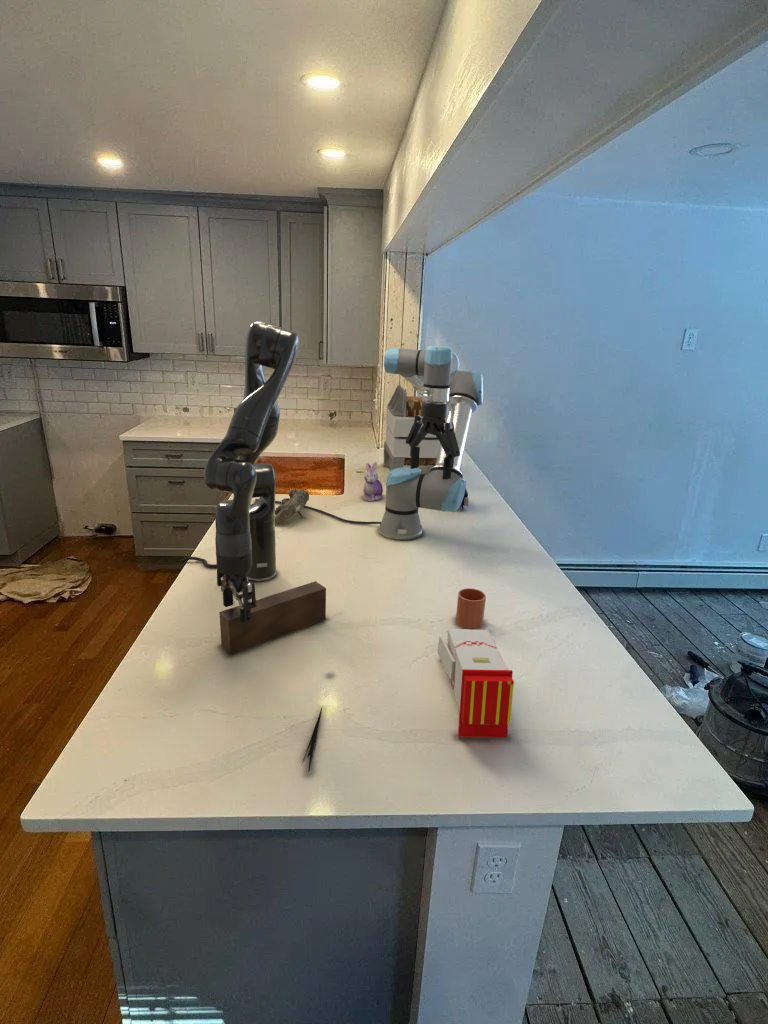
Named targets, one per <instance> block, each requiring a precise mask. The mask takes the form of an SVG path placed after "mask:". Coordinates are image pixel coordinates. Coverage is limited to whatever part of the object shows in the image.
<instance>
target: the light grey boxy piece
mask: <svg viewBox="0 0 768 1024" xmlns="http://www.w3.org/2000/svg"><path fill="white" fill-rule="evenodd" d="M407 394H408V393H407V390H406V389H404V388H403V387H402V385H399V384H398V385H397V386H396V388H395V390H394V392H393V394H392V395H391V398H390V400H389V402H388V404H387V405H386V413H385V414H386V415H385V423H386V428H385V438H384V442H383V466H384V467H388V468H389V472H390V471H391V470H393V469H396V468H401V467H405V466H406V467H411V457H410V449H411V447H410V445H409V444H406V439H407V437H408V435H409V433H410V430H411V428H412V426H413V424H414V419H415V416H417V415H422V403H423V402H424V400H423V396H415V395H414V396H413V395H412V396H411V395H407ZM445 419H446V418H445ZM422 426H423V423H422V425H421V427H422ZM420 429H421V428H420ZM419 431H420V430H419ZM418 433H419V432H418ZM441 433H442V432H441ZM439 446H440V441H439V439H438V438H437V437H436V435H432V434H427V435H426V436H425V437H424V438H423V440H422V441H421V442H420V443H419V446H417V447H420V452H419V467H434V466H435V465H436V460H437V456H438V451H439ZM460 471H461V472H462V465H461V466H460Z"/></svg>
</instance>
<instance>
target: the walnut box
mask: <svg viewBox="0 0 768 1024" xmlns="http://www.w3.org/2000/svg"><path fill="white" fill-rule="evenodd" d="M326 603H327V588H326V587H325V586H323V584H321V583H319V582H317V581H316V580H315V581H312V582H309V583H306V584H302V585H299V586H296V587H293V588H290V589H286V590H284V591H280V592H277V593H274V594H271V595H267V596H265V597H261V598H259V599H256V607H255V608H251V620H250V621H249V622H247V623H244V624H243V623H241V621H240V606H239V605H236V606H233V607H230V608H227V609H224V610H220V611H218V613H219V614H218V615H219V629H220V630H219V631H220V643H221V646H220V647H222V648H223V649H224V651H225V652H226V653H227V654H229V656H233V655H236V654H238V653H241V652H244V651H246V650H248V649H252V648H254V647H257V646H260V645H262V644H265V643H268V642H270V641H273V640H275V639H278V638H281V637H284V636H287V635H288V634H289V635H290V634H292V633H294V632H297V631H299V630H302V629H304V628H307V627H310V626H312V625H315V624H318V623H320V622H323V621H326V620H327V604H326Z"/></svg>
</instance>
